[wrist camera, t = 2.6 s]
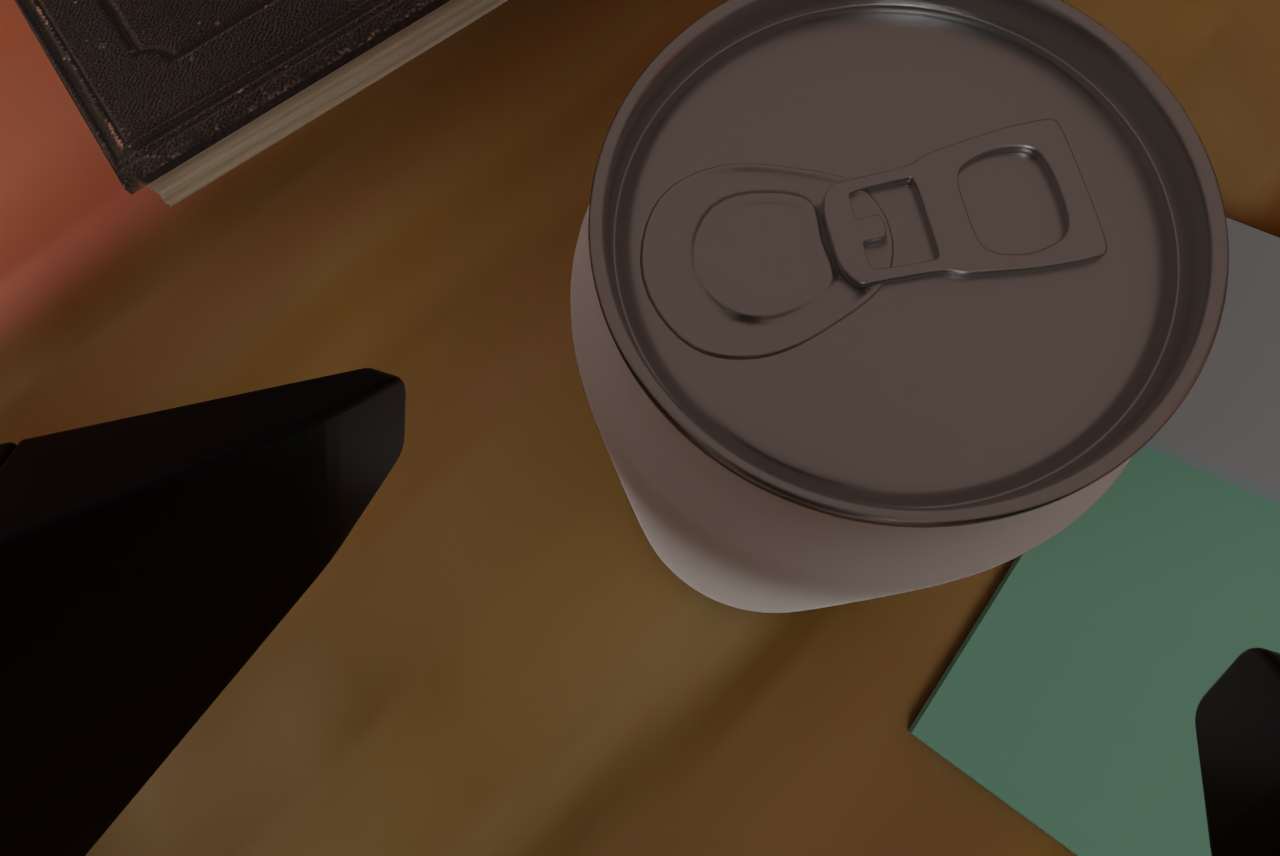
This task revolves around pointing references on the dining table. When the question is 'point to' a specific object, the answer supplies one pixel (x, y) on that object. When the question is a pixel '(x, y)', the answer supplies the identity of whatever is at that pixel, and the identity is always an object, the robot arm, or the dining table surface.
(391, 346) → the dining table surface
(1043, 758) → the pad
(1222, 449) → the legend board
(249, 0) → the hardcover book
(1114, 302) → the can
